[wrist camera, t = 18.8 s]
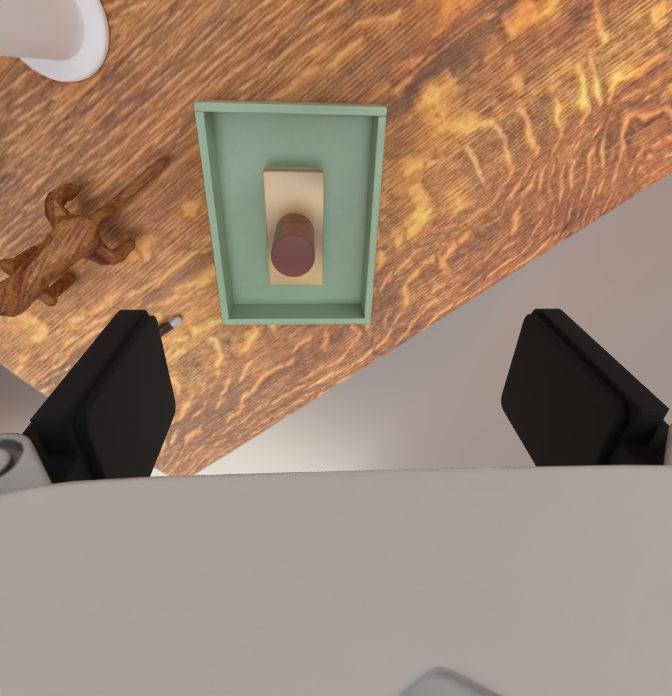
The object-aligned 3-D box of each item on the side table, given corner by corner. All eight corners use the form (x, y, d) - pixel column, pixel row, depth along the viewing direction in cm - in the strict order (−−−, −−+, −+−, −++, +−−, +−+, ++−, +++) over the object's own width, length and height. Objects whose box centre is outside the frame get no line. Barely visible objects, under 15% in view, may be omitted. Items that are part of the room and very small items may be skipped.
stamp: (266, 163, 34) (254, 187, 27) (322, 164, 34) (327, 188, 27) (272, 270, 39) (263, 315, 31) (322, 270, 39) (325, 315, 32)
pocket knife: (179, 310, 41) (173, 320, 39) (185, 317, 42) (180, 327, 40) (75, 371, 44) (66, 383, 43) (82, 377, 45) (73, 389, 43)
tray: (204, 99, 32) (192, 101, 29) (379, 103, 33) (387, 106, 30) (229, 305, 41) (222, 325, 38) (365, 305, 42) (370, 324, 39)
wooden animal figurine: (135, 119, 32) (40, 142, 21) (200, 191, 35) (147, 246, 24) (-2, 258, 38) (-141, 339, 26) (64, 311, 41) (-34, 404, 29)
